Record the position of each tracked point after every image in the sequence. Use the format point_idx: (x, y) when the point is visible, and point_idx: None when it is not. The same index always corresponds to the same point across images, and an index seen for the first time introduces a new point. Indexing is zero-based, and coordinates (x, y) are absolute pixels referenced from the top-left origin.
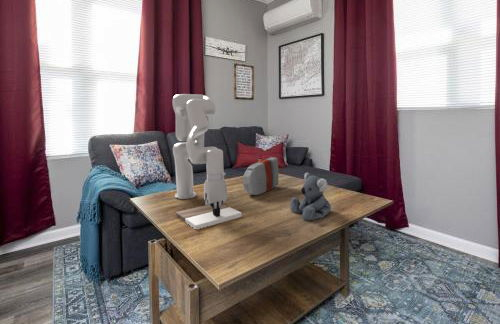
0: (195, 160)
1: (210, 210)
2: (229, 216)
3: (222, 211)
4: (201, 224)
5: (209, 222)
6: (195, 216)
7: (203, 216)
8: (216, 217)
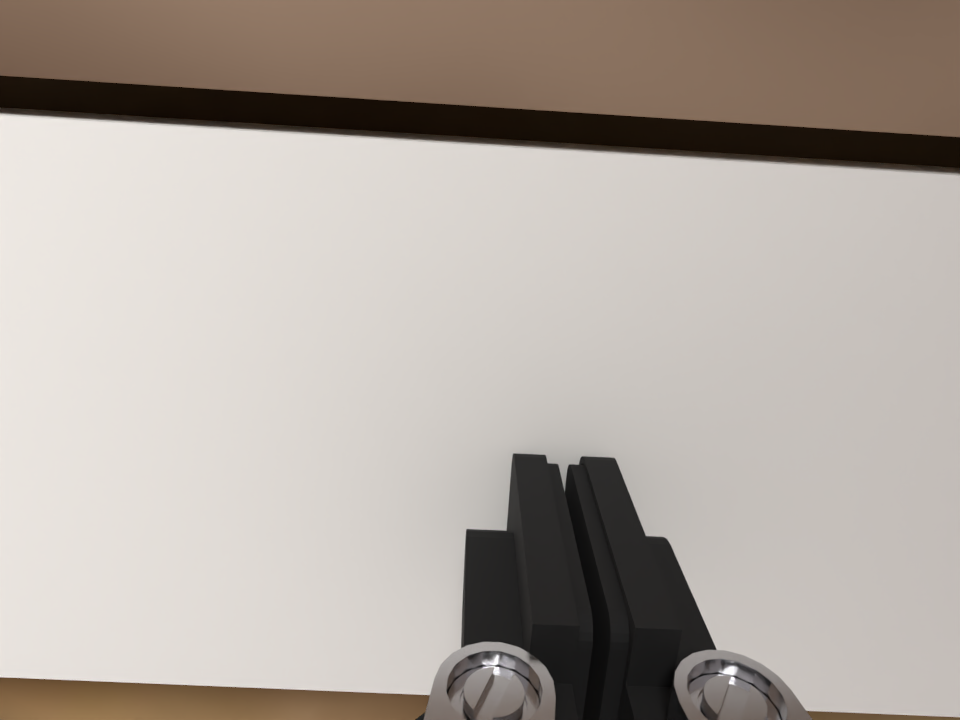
0: None
1: (725, 11)
2: None
3: (904, 376)
4: (17, 661)
5: (222, 669)
6: (19, 171)
7: (238, 341)
8: None
